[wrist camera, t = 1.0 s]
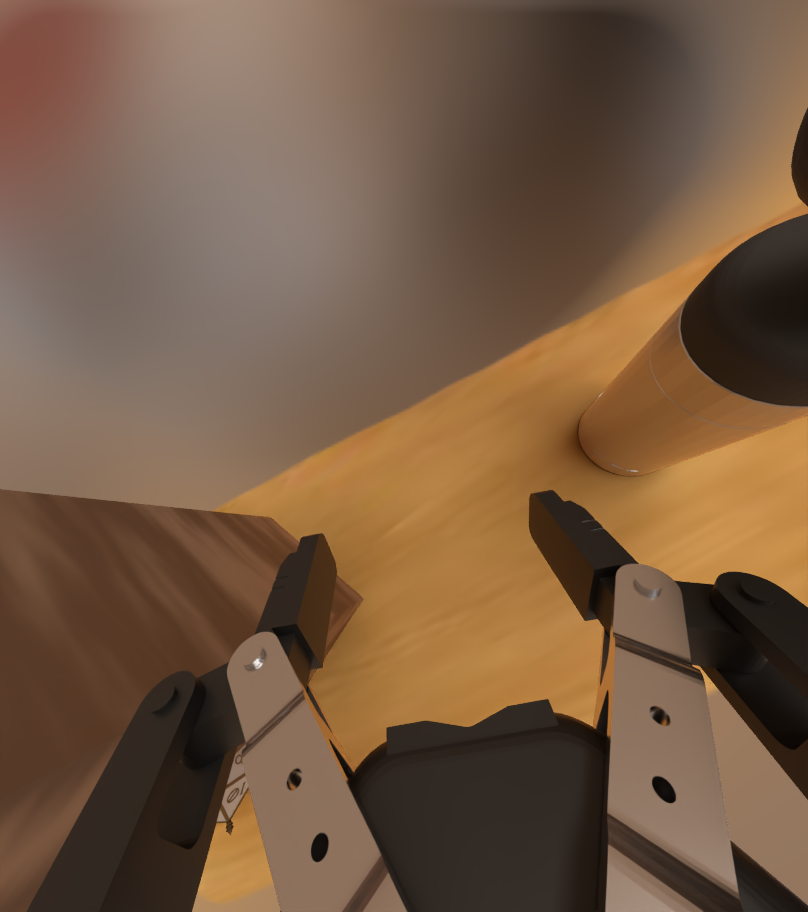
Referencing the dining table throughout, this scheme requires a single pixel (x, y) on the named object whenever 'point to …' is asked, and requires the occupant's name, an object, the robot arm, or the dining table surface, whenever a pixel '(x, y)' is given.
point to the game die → (233, 791)
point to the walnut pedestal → (109, 643)
